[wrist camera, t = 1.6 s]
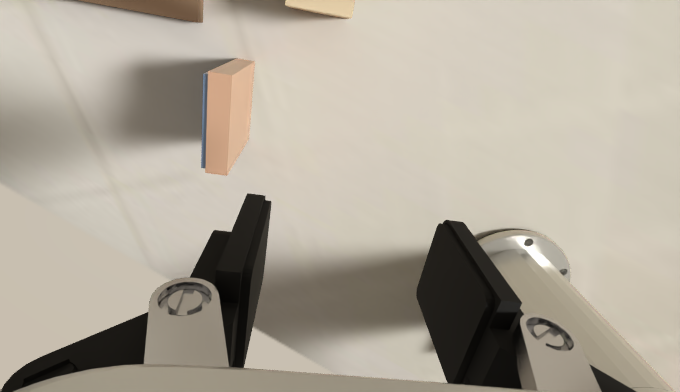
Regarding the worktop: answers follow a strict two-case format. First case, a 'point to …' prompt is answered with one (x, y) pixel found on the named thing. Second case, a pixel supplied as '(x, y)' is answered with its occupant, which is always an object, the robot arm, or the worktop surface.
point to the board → (160, 7)
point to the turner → (324, 7)
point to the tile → (226, 114)
